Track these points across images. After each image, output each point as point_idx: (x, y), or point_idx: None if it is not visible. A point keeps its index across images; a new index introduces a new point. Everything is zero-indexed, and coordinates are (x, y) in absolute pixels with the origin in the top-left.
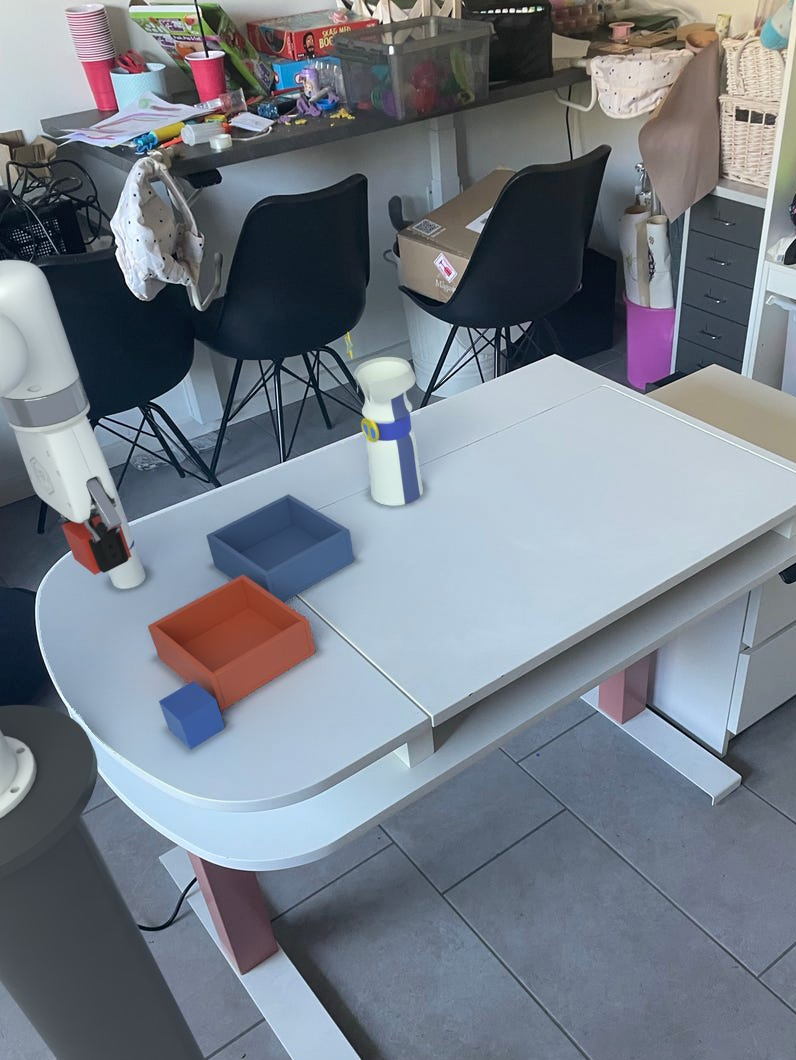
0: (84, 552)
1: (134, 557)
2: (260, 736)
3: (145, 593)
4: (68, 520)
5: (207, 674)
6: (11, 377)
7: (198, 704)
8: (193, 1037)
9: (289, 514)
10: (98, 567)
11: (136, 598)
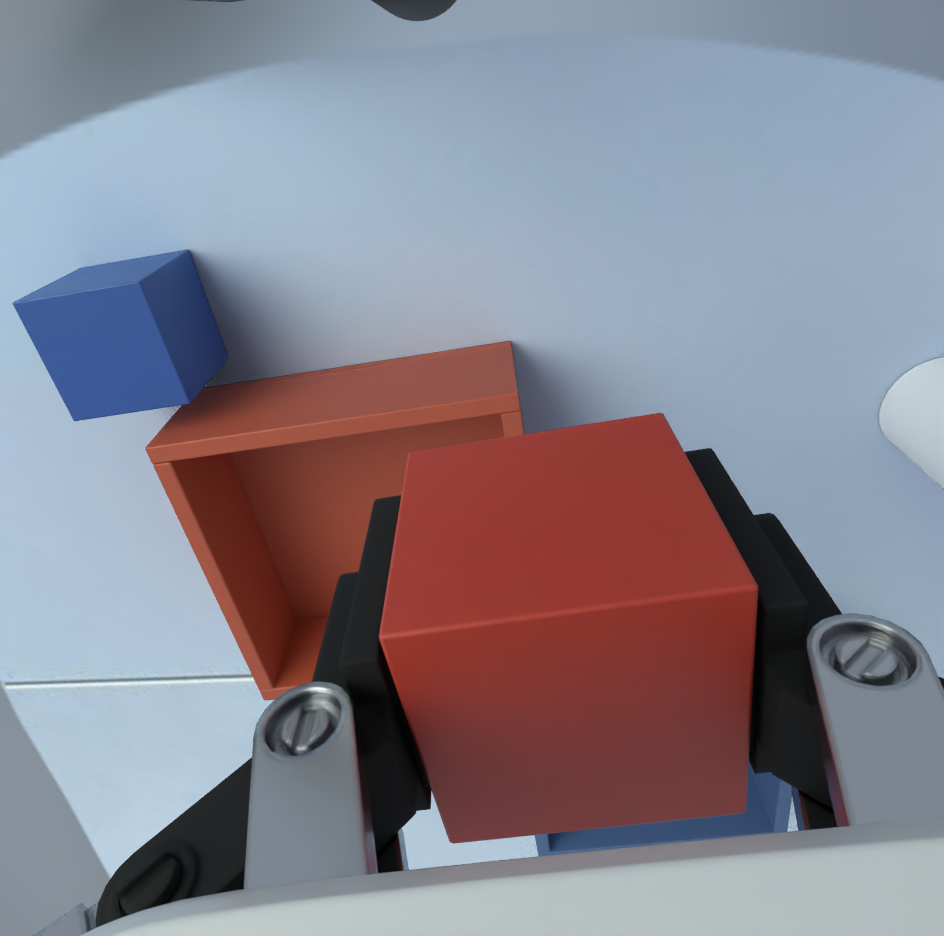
0: (424, 543)
1: (934, 478)
2: (61, 427)
3: (824, 415)
4: (802, 635)
5: (166, 448)
6: None
7: (69, 374)
8: (385, 2)
9: (756, 784)
10: (399, 506)
11: (825, 387)
